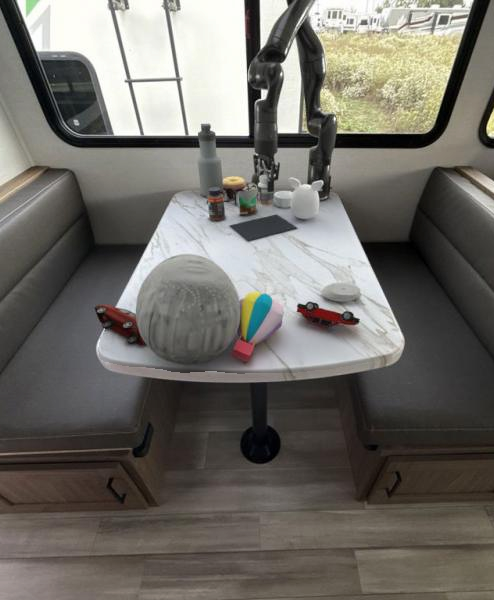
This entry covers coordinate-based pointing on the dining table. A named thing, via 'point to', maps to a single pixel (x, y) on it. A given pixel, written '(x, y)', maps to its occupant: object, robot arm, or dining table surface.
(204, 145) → the water bottle
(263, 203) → the pill bottle
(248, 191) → the food container
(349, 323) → the toy car
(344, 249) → the dining table surface
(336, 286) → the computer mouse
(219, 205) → the supplement bottle
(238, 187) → the doughnut
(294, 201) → the piggy bank
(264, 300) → the hot air balloon
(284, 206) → the ramekin
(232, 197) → the sunglasses
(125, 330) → the toy car
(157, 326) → the sculpture
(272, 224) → the placemat
